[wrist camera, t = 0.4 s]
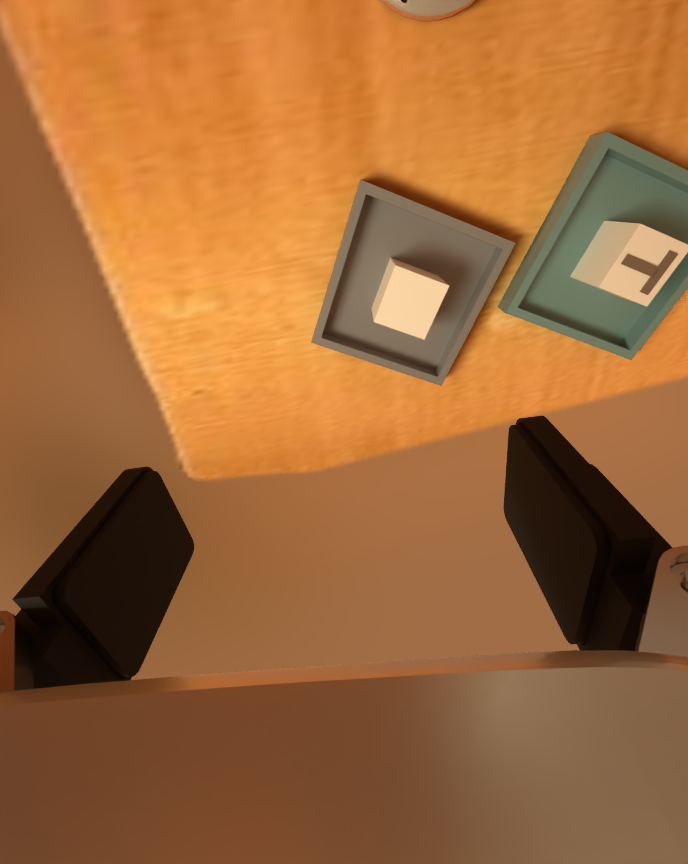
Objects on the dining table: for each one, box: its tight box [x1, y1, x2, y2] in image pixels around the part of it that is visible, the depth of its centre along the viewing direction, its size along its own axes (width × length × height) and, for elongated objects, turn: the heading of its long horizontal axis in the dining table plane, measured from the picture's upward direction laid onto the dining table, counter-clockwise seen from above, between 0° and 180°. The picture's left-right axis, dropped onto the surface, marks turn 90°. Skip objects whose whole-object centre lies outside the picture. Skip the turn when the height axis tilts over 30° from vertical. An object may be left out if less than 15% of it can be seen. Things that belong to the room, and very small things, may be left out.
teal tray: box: [498, 132, 688, 360], centre depth 35 cm, size 15×15×2 cm
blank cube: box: [372, 257, 449, 340], centre depth 35 cm, size 5×5×5 cm
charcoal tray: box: [311, 179, 516, 386], centre depth 37 cm, size 15×15×2 cm
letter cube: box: [570, 221, 688, 307], centre depth 33 cm, size 5×5×5 cm
